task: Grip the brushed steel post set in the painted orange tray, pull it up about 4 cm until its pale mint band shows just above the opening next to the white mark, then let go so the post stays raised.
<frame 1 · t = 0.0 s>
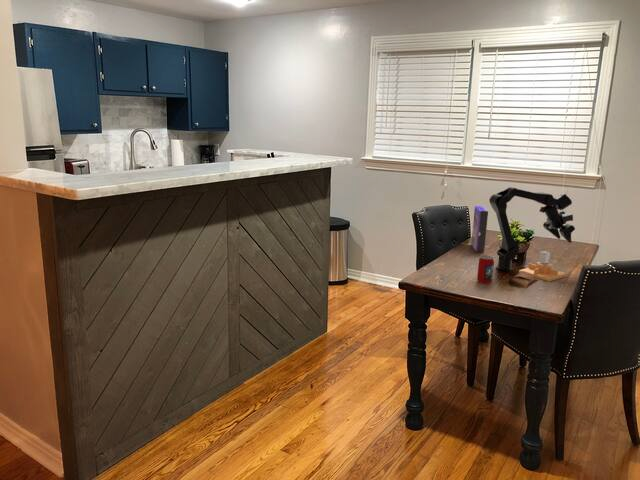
hand: (564, 240, 264), 15 cm above the table, tool tilted 35°, fingers open, 9 cm apart
sunglasses case: (523, 283, 241), on the table
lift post: (544, 261, 253), point 7 cm above the table, slide at 0.0 cm, touching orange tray
beverage can: (484, 282, 240), on the table
cereal box: (477, 248, 306), on the table
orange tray: (542, 274, 255), on the table
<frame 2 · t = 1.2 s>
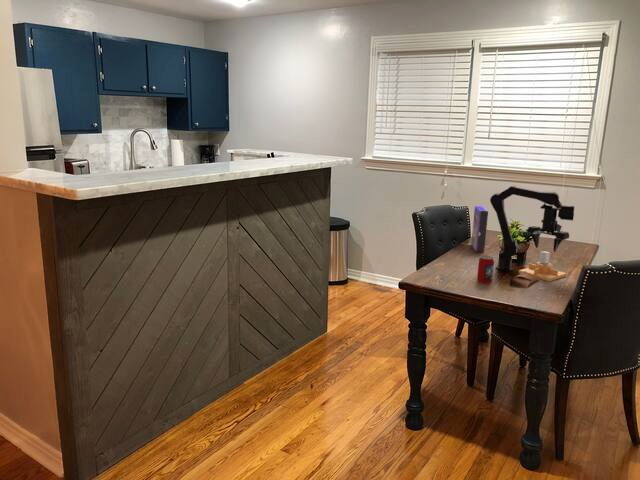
hand: (545, 249, 252), 13 cm above the table, tool pointing down, fingers open, 9 cm apart
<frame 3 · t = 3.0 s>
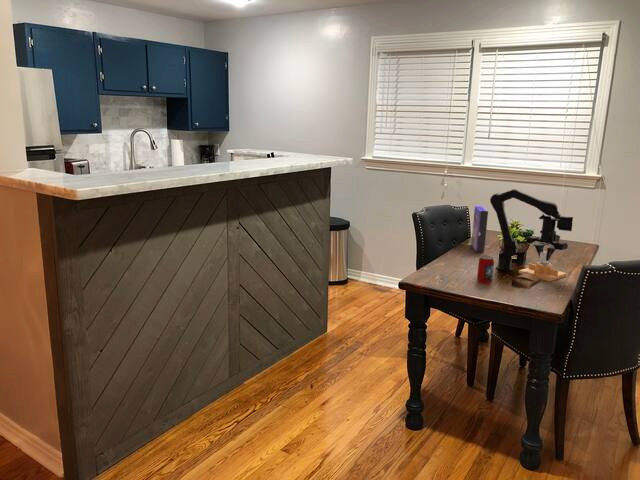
hand: (544, 259, 253), 8 cm above the table, tool pointing down, fingers closed on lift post, 3 cm apart
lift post: (544, 261, 253), point 6 cm above the table, slide at 0.0 cm, touching gripper, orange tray
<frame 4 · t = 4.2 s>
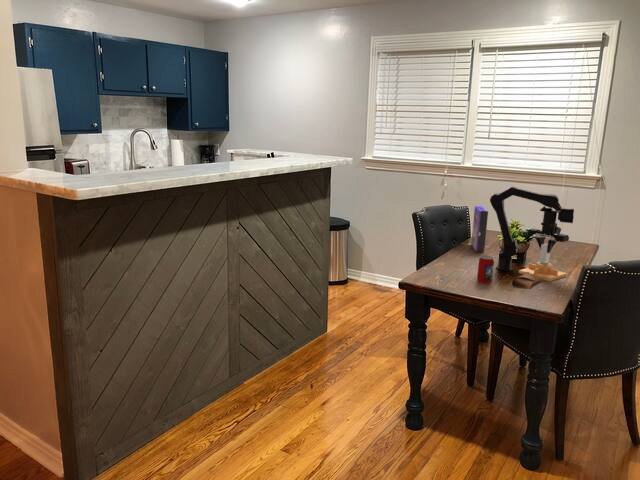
hand: (545, 252, 252), 11 cm above the table, tool pointing down, fingers closed on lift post, 3 cm apart
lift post: (545, 254, 252), point 10 cm above the table, slide at 3.9 cm, touching gripper
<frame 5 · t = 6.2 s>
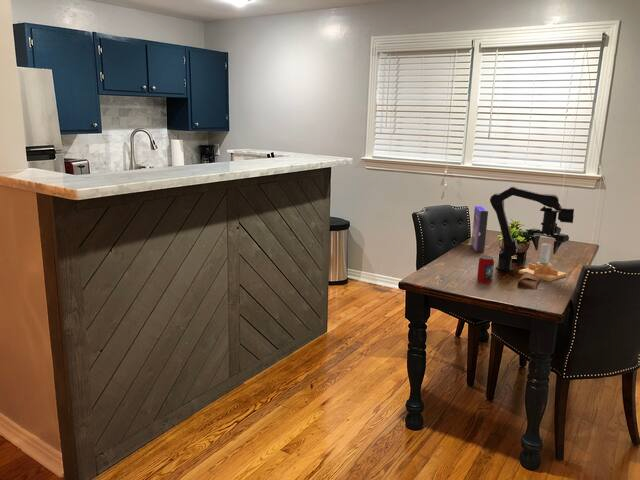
hand: (545, 252, 252), 11 cm above the table, tool pointing down, fingers open, 9 cm apart
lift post: (545, 254, 252), point 10 cm above the table, slide at 4.0 cm
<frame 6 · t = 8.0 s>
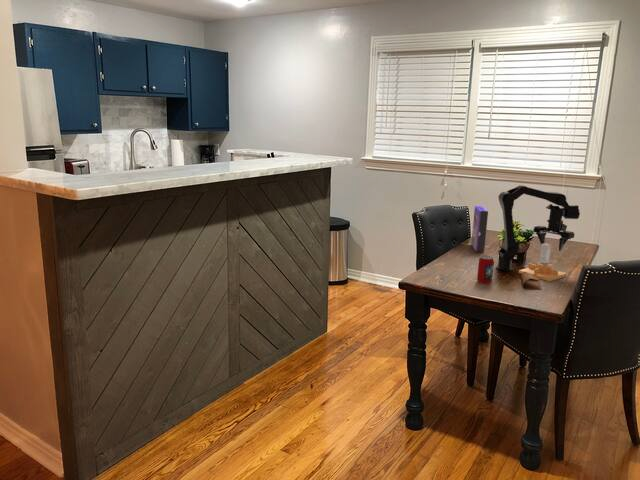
hand: (551, 248, 259), 12 cm above the table, tool pointing down, fingers open, 9 cm apart
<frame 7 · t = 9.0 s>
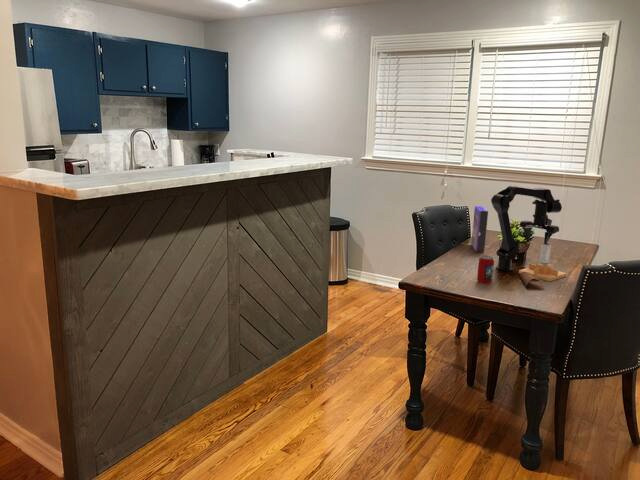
hand: (536, 242, 265), 13 cm above the table, tool pointing down, fingers open, 9 cm apart
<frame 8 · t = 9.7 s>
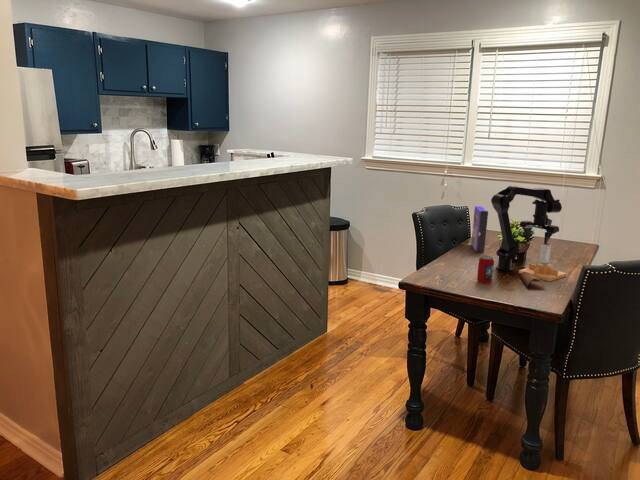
hand: (536, 242, 265), 13 cm above the table, tool pointing down, fingers open, 9 cm apart
at the end: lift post slide at 4.0 cm; the gripper is holding nothing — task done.
